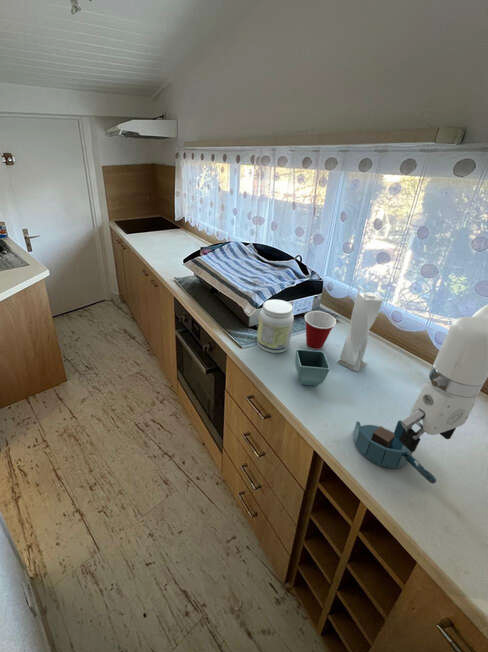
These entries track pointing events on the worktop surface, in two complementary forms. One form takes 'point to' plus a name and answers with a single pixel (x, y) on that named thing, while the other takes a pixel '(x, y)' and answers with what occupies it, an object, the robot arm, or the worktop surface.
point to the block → (383, 437)
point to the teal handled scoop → (387, 450)
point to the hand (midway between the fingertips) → (424, 439)
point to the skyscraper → (360, 329)
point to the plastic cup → (318, 328)
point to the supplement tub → (275, 326)
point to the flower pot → (311, 367)
